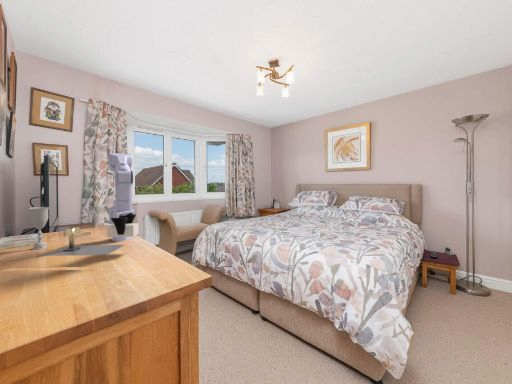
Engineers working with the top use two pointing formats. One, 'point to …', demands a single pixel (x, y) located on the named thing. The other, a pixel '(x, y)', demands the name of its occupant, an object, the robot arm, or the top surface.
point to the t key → (71, 232)
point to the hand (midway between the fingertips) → (124, 233)
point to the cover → (130, 230)
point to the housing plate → (85, 250)
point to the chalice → (39, 223)
